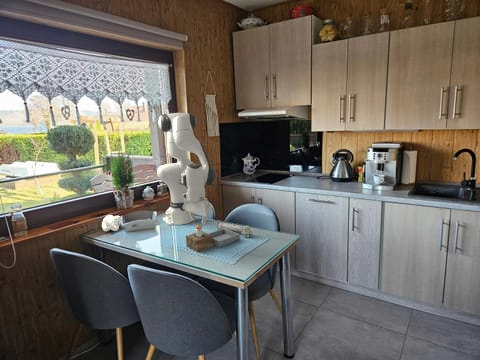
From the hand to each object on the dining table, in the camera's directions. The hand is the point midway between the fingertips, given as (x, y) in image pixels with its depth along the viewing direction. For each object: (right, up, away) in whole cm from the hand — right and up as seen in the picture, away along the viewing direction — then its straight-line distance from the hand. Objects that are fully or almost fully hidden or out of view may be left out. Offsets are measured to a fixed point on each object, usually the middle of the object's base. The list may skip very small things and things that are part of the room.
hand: (198, 222), depth 161 cm
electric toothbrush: (+18, -10, +21) cm, 29 cm away
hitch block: (0, -13, +3) cm, 14 cm away
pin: (0, -13, +3) cm, 14 cm away
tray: (+11, -12, +10) cm, 19 cm away
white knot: (-59, -10, +34) cm, 69 cm away
